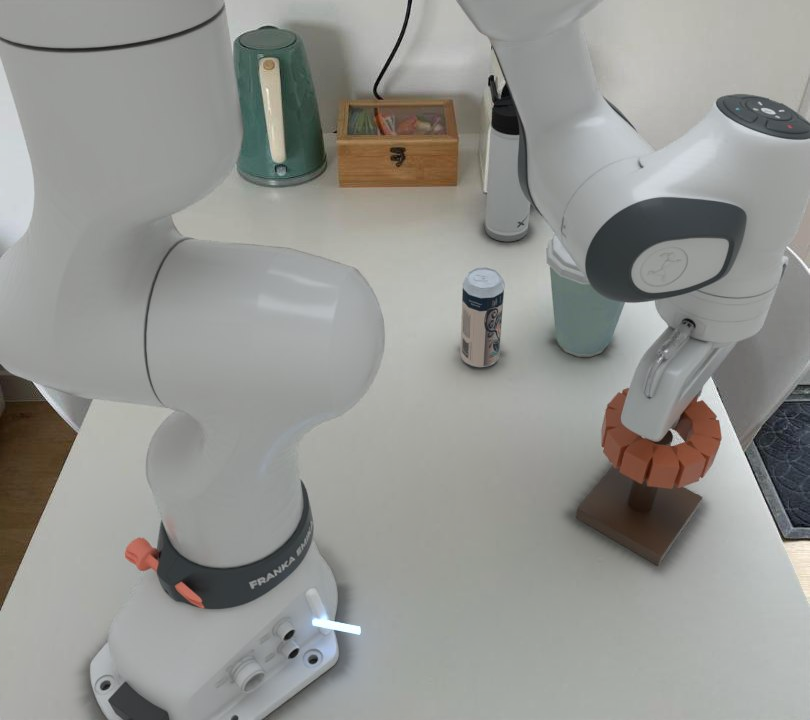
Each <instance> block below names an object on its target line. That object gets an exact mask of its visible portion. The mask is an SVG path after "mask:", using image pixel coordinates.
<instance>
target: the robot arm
mask: <svg viewBox="0 0 810 720" xmlns="http://www.w3.org/2000/svg"><path fill="white" fill-rule="evenodd" d="M455 1H456V2H457V4H458V6H459V7H460V9H461V10H462V11H463V13H464V15H466V17H467V19H468V20H469V21H470V22H471V24H472V25H473V26H474V28H475V29H476V31H478V33H480V34H481V35H483V36H485V37H487V39H488V41H489V43H490V45H491V47H492V50H493V52H494V55H495V58H496V61H497V63H498V66H499V68H500V71H501V74H502V76H503V80H504V82H505V85H506V87H507V90H508V93H509V96H511V98H512V101H513V104H514V107H515V110H516V113H517V117H518V123H519V149H518V178H519V183H520V187H521V189H522V192H523V193H524V195H525V197H526V198H527V200H528V201H529V202H530V205H531V206H532V207H533V208H534V209H535V211H536V212H537V213H538V214H539V215H540V216H541V217H542V218H543V219H544V220H545V222H546V223H547V224H548V226H549V228H550V229H551V231H552V232H553V235H554V234H555V235H556V236H557V238H558V239H559V241H560V242H561V244H562V245H563V247H564V248H565V250H566V251H567V252H568V254H569V255H570V257H571V258H572V260H573V261H574V262H575V264H576V265H577V267H578V268H579V270H580V271H581V272H582V274H583V275H584V277H585V278H586V279H587V281H588V282H589V283H590V284H591V286H592V287H593V288H594V289H595V290H596V291H597V292H598V293H599V294H600V295H602V296H604V297H606V298H608V299H611V300H614V301H618V302H625V303H626V304H627V303H629V304H630V303H631V304H637V303H639V304H640V303H648V302H654V307H655V310H656V312H657V314H658V315H659V316H660V318H661V319H662V320H663V321H664V322H665V324H666V326H667V328H665V330H664V331H662V333H661V334H660V335H659V337H658V338H657V339H656V340H655V341H654V342H653V343H652V344H651V345H650V346H649V347H648V349H647V350H646V351H645V353H644V354H643V355H642V357H641V359H640V360H639V362H638V364H637V365H636V368H635V371H634V373H633V376H632V379H631V382H630V384H629V387H628V388H629V391H628V394H627V397H626V400H625V404H624V407H623V410H622V414H621V422H622V424H623V425H624V426H625V427H626V428H627V429H629V430H631V431H632V432H634V433H636V434H638V435H640V436H642V437H643V438H646V439H649V440H651V441H654V442H658V441H660V440H661V439H662V438H663V437H664V436H665V434H666V433H667V432H668V431H669V430H670V429H671V430H673V429H674V428H675V427H676V426H677V425H678V423H679V422H680V421H681V419H682V417H683V414H684V411H685V409H686V408H687V406H688V405H689V404H690V402H691V401H692V400H693V399H694V397H695V396H697V397H698V399H699V398H700V397H701V395H702V392H703V389H704V386H705V385H706V383H707V382H708V381H709V379H710V378H712V376H713V375H714V373H715V372H716V371H717V369H718V368H719V367H720V365H721V364H722V363H723V361H724V360H725V359H726V358H727V356H728V355H729V354H730V352H731V351H732V350H733V349H734V348H735V346H736V345H737V344H738V343H739V342H741V341H744V340H747V339H749V338H751V337H753V336H755V335H756V334H758V333H759V332H760V330H761V329H762V328H763V326H764V324H765V321H766V319H767V316H768V314H769V310H770V308H771V305H772V303H773V299H774V297H775V294H776V292H777V288H778V286H779V283H780V282H781V281H782V279H783V276H784V275H785V273H786V270H787V268H788V265H789V262H790V260H789V257H788V256H787V255H784V254H785V252H786V249H787V247H788V246H789V245H790V243H791V242H793V240H794V238H795V237H796V235H797V233H798V231H799V229H800V226H801V223H802V221H803V218H804V215H805V211H806V209H807V206H808V203H809V200H810V122H809V121H808V120H807V119H806V118H804V116H802V115H801V114H800V113H798V112H797V111H795V110H794V109H793V108H791V107H789V106H788V105H786V104H784V103H782V102H778V101H776V100H772V99H770V98H769V97H764V96H761V95H760V96H759V95H756V94H755V95H754V94H748V93H733V94H727V95H722V96H720V97H718V98H716V99H715V100H714V101H713V103H712V104H711V105H710V107H709V108H708V110H707V111H706V114H705V115H704V116H703V117H702V118H701V120H700V121H698V123H696V124H695V125H694V126H693V127H692V128H690V129H689V130H688V131H687V132H686V133H684V134H683V135H681V136H680V137H678V138H677V139H675V140H674V141H671V142H670V143H669V144H667V145H665V146H664V147H662V148H660V149H657V150H656V149H654V148H653V147H652V146H651V144H649V142H647V140H646V139H644V138H643V137H642V135H641V134H639V132H638V130H637V129H636V128H635V126H634V125H633V123H631V122H630V120H629V119H628V118H627V117H626V116H625V115H624V113H623V112H622V111H621V110H620V109H619V108H618V107H617V106H616V105H614V104H613V103H612V102H611V101H610V100H608V99H607V98H606V97H605V96H603V94H602V92H601V90H600V88H599V85H598V81H597V77H596V73H595V70H594V65H593V61H592V57H591V53H590V50H589V49H590V48H589V45H588V42H587V37H586V34H585V29H584V25H583V21H582V18H584V17H585V16H586V15H588V14H589V13H591V12H592V11H593V10H595V9H596V8H597V7H598V6H599V5H600V4H601V3H602V2H603V1H604V0H455ZM0 60H1V64H2V67H3V70H4V73H5V76H6V79H7V83H8V85H9V89H10V93H11V96H12V99H13V102H14V105H15V109H16V113H17V117H18V120H19V123H20V126H21V127H20V128H21V130H22V135H23V137H24V141H25V145H26V149H27V152H28V156H29V160H30V164H31V165H30V166H31V170H32V178H33V190H34V191H33V192H34V195H33V208H32V214H31V218H30V222H29V225H28V227H27V229H26V231H25V232H24V234H23V235H22V236H21V237H20V238H19V239H18V240H17V241H16V242H14V243H13V244H12V245H11V246H10V247H9V248H8V249H6V251H5V252H4V253H3V255H2V256H1V257H0V365H1V366H2V367H3V368H4V370H6V371H7V372H8V373H10V374H12V375H13V376H16V377H17V378H18V377H19V378H22V379H24V380H26V381H29V382H32V383H35V384H38V385H39V386H43V387H46V388H48V389H51V390H54V391H58V392H60V393H64V394H67V395H70V396H73V397H77V398H80V399H88V400H89V399H90V400H98V401H104V402H105V401H106V402H113V403H121V404H130V405H137V406H138V405H139V406H146V407H153V408H154V407H155V408H163V409H169V410H172V412H171V413H170V414H169V415H168V416H167V417H166V418H165V419H164V420H162V422H161V423H160V424H159V426H158V427H157V429H156V430H155V431H154V433H153V435H152V436H151V440H150V441H149V444H148V446H147V447H148V448H147V452H146V457H145V468H144V470H145V477H146V481H147V484H148V486H149V489H150V492H151V494H152V496H153V497H152V498H153V500H154V503H155V505H156V509H157V511H158V514H159V516H160V523H159V524H160V525H159V532H158V536H157V543H156V544H157V545H156V547H153V546H152V545H151V544H150V542H149V541H148V540H147V539H146V538H145V537H137V538H135V539H133V540H132V541H130V543H129V544H128V545H127V546H126V547H125V551H124V558H125V559H126V560H127V561H128V562H130V563H131V564H133V565H135V566H136V569H137V570H139V571H141V572H143V574H142V575H141V577H140V578H139V579H138V581H137V583H136V584H135V586H134V587H133V589H132V590H131V592H130V593H129V595H128V597H127V598H126V600H125V601H124V603H123V604H122V606H121V607H120V608H119V610H118V611H117V613H116V614H115V616H114V618H113V619H112V621H111V623H110V625H109V628H108V629H109V630H108V638H107V642H106V643H105V644H104V645H103V646H102V647H101V649H100V650H98V652H97V653H96V655H95V656H94V657H93V658H92V660H91V662H90V665H89V677H90V685H91V688H92V691H93V695H94V696H95V701H96V702H97V704H98V706H99V708H100V710H101V712H102V714H103V715H104V716H105V718H106V720H263V719H265V718H266V717H267V716H268V715H271V713H273V712H274V711H276V710H277V709H278V708H279V707H281V706H282V705H283V704H285V703H286V702H287V701H289V700H290V699H292V698H293V697H294V696H295V695H297V694H298V693H299V692H300V691H302V690H303V689H305V688H306V687H307V686H308V685H310V684H311V683H313V682H314V681H315V680H317V679H318V678H319V677H321V676H322V675H323V674H325V673H326V672H327V671H328V670H330V669H331V668H333V667H334V666H335V665H336V664H337V662H338V660H339V657H340V648H339V643H338V639H337V635H336V631H340V632H345V633H350V634H355V635H361V626H358V625H353V624H348V623H342V622H339V621H336V615H337V610H338V605H339V604H338V603H339V591H338V585H337V582H336V578H335V575H334V573H333V571H332V569H331V567H330V565H329V564H328V563H327V561H326V560H325V559H324V558H323V555H321V553H320V551H319V549H318V547H317V545H316V542H315V540H314V527H315V526H314V519H313V518H314V517H313V512H312V508H311V507H312V506H311V503H310V500H309V494H308V490H307V488H306V486H305V483H304V482H303V480H302V479H301V473H300V464H299V445H300V442H301V441H302V439H303V438H304V437H305V436H306V435H307V434H308V433H309V432H311V431H312V430H313V429H315V428H316V427H318V426H320V425H323V424H324V423H327V422H329V421H331V420H335V419H338V418H340V417H342V416H344V415H345V414H347V413H348V412H349V411H351V410H352V409H353V408H354V407H355V406H356V405H357V404H358V403H359V402H360V401H361V400H362V399H363V398H364V396H365V395H366V394H367V393H368V391H369V390H370V388H371V387H372V385H373V384H374V381H375V380H376V377H377V375H378V374H379V372H380V371H379V370H380V368H381V365H382V362H383V358H384V353H385V345H386V328H385V319H384V315H383V311H382V307H381V305H380V302H379V299H378V297H377V295H376V293H375V291H374V289H373V287H372V286H371V284H370V283H369V281H368V279H366V277H365V276H364V275H363V273H362V272H361V271H360V270H359V269H358V268H356V267H354V266H350V265H348V264H345V263H342V262H339V261H335V260H332V259H329V258H326V257H323V256H319V255H316V254H312V253H310V252H309V253H308V252H305V251H301V250H298V249H294V248H291V247H284V246H273V245H261V244H252V243H241V242H240V243H239V242H230V241H219V240H209V239H208V240H207V239H198V238H197V239H196V238H193V237H189V236H185V235H183V234H182V233H181V232H180V231H179V229H178V228H177V227H176V225H175V223H174V220H173V215H176V214H177V213H181V212H182V211H185V210H186V209H188V208H189V207H192V206H193V205H195V204H197V203H198V202H200V201H202V200H203V199H205V198H206V197H207V196H209V195H211V193H213V192H215V190H217V189H218V188H219V187H220V186H221V185H223V183H224V182H225V181H226V179H227V178H229V176H230V175H231V173H232V171H233V170H234V168H235V166H236V165H237V163H238V159H239V157H240V154H241V151H242V147H243V146H242V145H243V142H244V141H243V140H244V133H245V132H244V131H245V128H244V121H243V115H242V108H241V102H240V93H239V90H238V89H239V88H238V82H237V74H236V68H235V62H234V55H233V49H232V41H231V34H230V29H229V21H228V16H227V9H226V2H225V0H0ZM311 660H317V661H316V662H315V663H310V661H311ZM108 685H109V687H108V688H107V689H104V688H105V687H106V686H108Z"/></svg>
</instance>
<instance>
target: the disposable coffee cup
mask: <svg viewBox="0 0 810 720" xmlns="http://www.w3.org/2000/svg"><path fill="white" fill-rule="evenodd" d="M545 252H546V253H545V255H546V256H545V257H546V264H547V265H548V266H549V275H550V285H551V298H552V310H553V311H552V312H553V321H554V332H555V333H554V334H555V335H554V336H555V340H556V342H557V345H558V346H559V347H560V348H561V349H562V350H563V351H564V352H565V353H567V354H570V355H572V356H575V357H580V358H581V357H582V358H591V357H594V356H598V355H600V354H602V353H603V352H604V350H606V348H607V347H608V346H609V344H610V343H611V341H612V339H613V336H614V333H615V331H616V328H617V326H618V322H619V320H620V318H621V314H622V312H623V309H624V307H625V304H626V302H618V301H614V300H611V299H608V298H606V297H604V296H602V295H600V294H599V293H598V292H597V291H596V290H595V289H594V288H593V287H592V286H591V284H590V283H589V282H588V281H587V279H586V278H585V277H584V275H583V274H582V272H581V271H580V270H579V268H578V267H577V265H576V264H575V262H574V261H573V260H572V258H571V257H570V255H569V254H568V252H567V251H566V250H565V248H564V247H563V245H562V244H561V242H560V241H559V239H558V238H557V236H556V235H555V234H554V233H553V234H552V238H551V239H550V240H549V241H548V242H547V246H546V249H545Z"/></svg>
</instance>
